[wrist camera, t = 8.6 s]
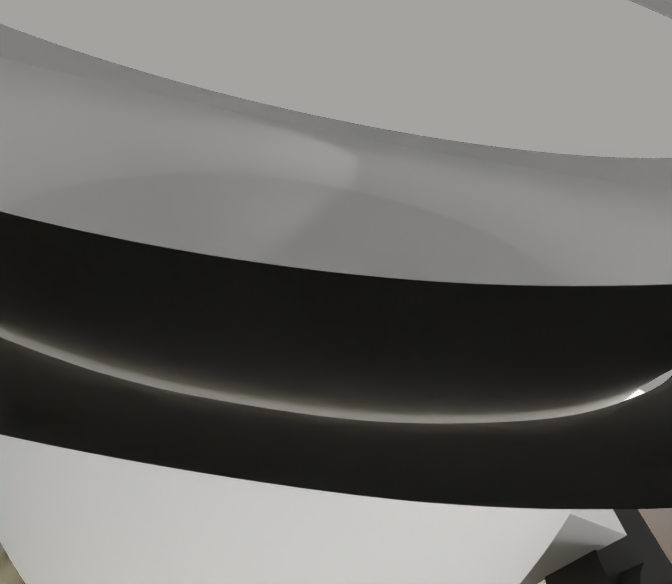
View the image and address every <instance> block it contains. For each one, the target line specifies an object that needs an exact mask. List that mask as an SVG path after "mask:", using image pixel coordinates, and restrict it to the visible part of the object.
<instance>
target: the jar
mask: <svg viewBox="0 0 672 584" xmlns="http://www.w3.org/2000/svg"><path fill="white" fill-rule="evenodd" d="M630 1H632V2H634V3H637V4H639V5H641V6H644V7H646V8H648V9H651V10H653V11H655V12H658V13H660V14H662V15H665V16H667V17H669V18H672V0H630ZM671 369H672V158H615V157H594V156H580V155H567V154H555V153H545V152H535V151H526V150H517V149H509V148H500V147H493V146H485V145H478V144H470V143H464V142H457V141H451V140H444V139H438V138H432V137H425V136H419V135H413V134H408V133H402V132H396V131H391V130H385V129H380V128H375V127H369V126H364V125H359V124H354V123H349V122H344V121H339V120H334V119H329V118H325V117H320V116H315V115H310V114H306V113H301V112H297V111H292V110H288V109H284V108H279V107H274V106H271V105H266V104H262V103H258V102H254V101H250V100H246V99H242V98H238V97H233V96H230V95H226V94H222V93H218V92H214V91H210V90H206V89H203V88H199V87H195V86H191V85H187V84H184V83H180V82H176V81H173V80H169V79H166V78H162V77H159V76H156V75H152V74H148V73H145V72H142V71H138V70H135V69H132V68H128V67H125V66H122V65H119V64H115V63H112V62H109V61H106V60H103V59H99V58H96V57H93V56H90V55H87V54H84V53H80V52H78V51H75V50H72V49H68V48H66V47H63V46H60V45H57V44H54V43H51V42H48V41H45V40H43V39H40V38H37V37H34V36H31V35H28V34H26V33H23V32H21V31H18V30H15V29H12V28H9V27H7V26H5V25H2V24H0V542H1V544H2V546H3V548H4V550H5V551H6V553H7V555H8V557H9V558H10V560H11V562H12V563H13V565H14V567H15V568H16V570H17V571H18V573H19V575H20V576H21V578H22V579H23V581H24V582H25V584H520V583H521V582H522V580H523V579H524V578H525V577H526V576H527V574H528V573H529V572H530V571H531V569H532V568H533V567H534V565H535V564H536V563H537V561H538V560H539V559H540V558H541V556H542V555H543V553H544V552H545V551H546V549H547V548H548V547H549V545H550V544H551V542H552V541H553V539H554V538H555V536H556V535H557V533H558V532H559V530H560V529H561V527H562V526H563V524H564V523H565V521H566V520H567V518H568V516H569V515H570V513H571V511H572V510H573V509H654V508H672V376H671V377H670V378H669V379H668V380H667V381H665V382H664V383H663V384H662V385H660V386H658V387H656V388H655V389H653V390H651V391H649V392H646V393H644V394H642V395H639V396H637V397H634V398H632V399H629V400H626V401H624V400H625V399H626V398H627V397H629V396H630V395H631V394H633V393H634V392H635V391H637V390H638V389H639V388H641V387H642V386H644V385H645V384H647V383H648V382H650V381H652V380H653V379H655V378H657V377H658V376H660V375H662V374H664V373H666V372H668V371H670V370H671ZM622 401H624V402H622Z"/></svg>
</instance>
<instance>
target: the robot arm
mask: <svg viewBox="0 0 672 584" xmlns="http://www.w3.org/2000/svg"><path fill="white" fill-rule="evenodd" d="M544 579H545V580H546V584H672V564H671V563H670V561H669V560H668V558H667V557H666V555H665V554H664V552H663V550H662V549H661V547H660V545H659V544H658V542H657V540H656V539H655V537H654V536H653V534H652V532H651V531H650V529H649V527H648V526H647V524H646V522H645V521H644V519H643V518H642V516H641V514H640V513H639V511H638V509H573V510H572V511H571V513H570V515H569V516H568V518H567V520H566V521H565V523H564V524H563V526H562V527H561V529H560V530H559V532H558V533H557V535H556V536H555V538H554V539H553V541H552V542H551V544H550V545H549V547H548V548H547V549H546V551H545V552H544V553H543V555H542V556H541V558H540V559H539V560H538V561H537V563H536V564H535V565H534V567H533V568H532V569H531V571H530V572H529V573H528V574H527V576H526V577H525V578H524V579H523V580H522V582H521V583H520V584H537V583H539V582H541V581H543V580H544Z"/></svg>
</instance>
